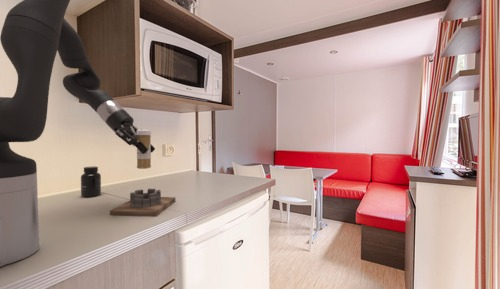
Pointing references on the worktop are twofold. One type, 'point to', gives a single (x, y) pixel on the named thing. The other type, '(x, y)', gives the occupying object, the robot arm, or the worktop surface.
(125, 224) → the worktop surface
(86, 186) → the supplement bottle
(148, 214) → the collar base
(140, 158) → the sprinkles bottle
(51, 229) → the worktop surface
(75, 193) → the worktop surface
